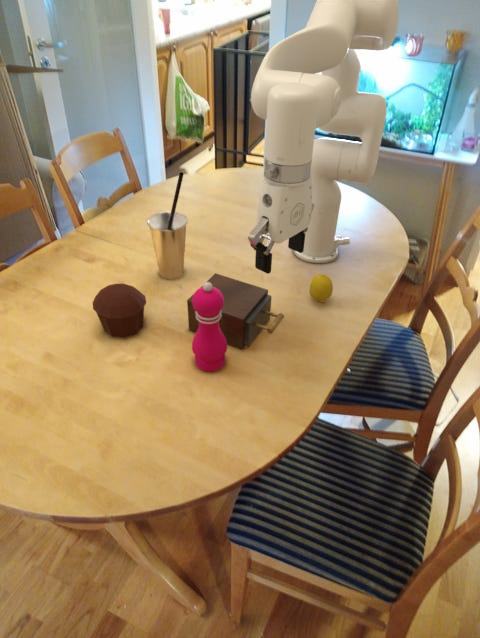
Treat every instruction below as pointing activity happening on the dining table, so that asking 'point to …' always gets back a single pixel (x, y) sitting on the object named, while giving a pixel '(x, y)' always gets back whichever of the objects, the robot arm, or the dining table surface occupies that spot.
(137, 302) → the muffin
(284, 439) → the dining table surface
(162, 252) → the metal cup with straw
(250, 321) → the drawer
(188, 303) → the cabinet
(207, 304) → the pepper mill
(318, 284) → the lemon
